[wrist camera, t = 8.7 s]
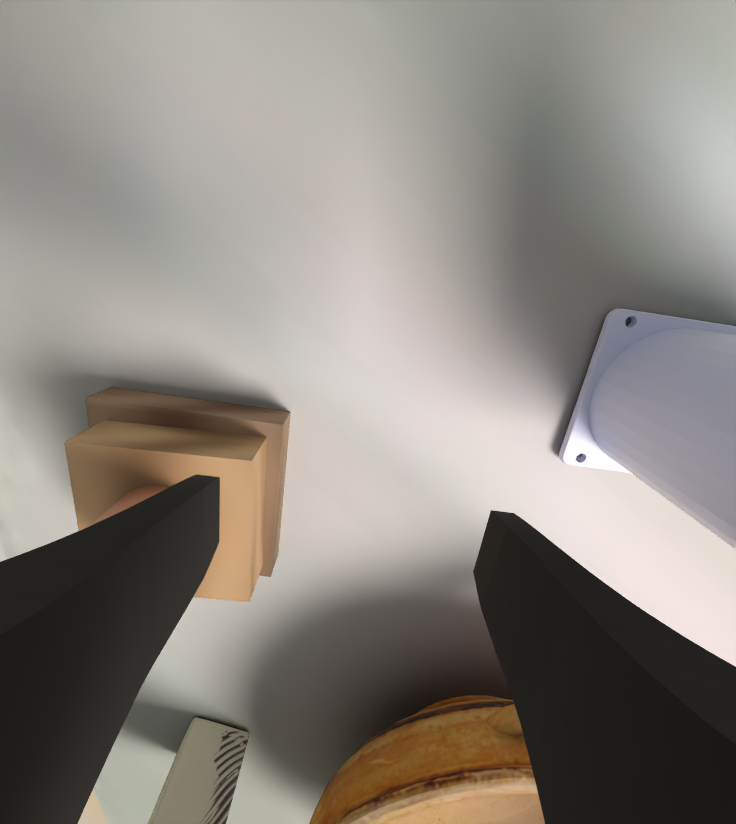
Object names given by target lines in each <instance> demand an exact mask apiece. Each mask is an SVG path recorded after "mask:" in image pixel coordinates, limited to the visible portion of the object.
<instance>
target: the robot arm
mask: <svg viewBox="0 0 736 824" xmlns="http://www.w3.org/2000/svg"><path fill="white" fill-rule="evenodd" d="M628 317H631V323H630V324H629V325H628V326H626V325H625V321H626V319H627V318H628ZM579 454H582V456H581V458H579V459H576V457H577V455H579ZM559 458H560V460H561V461H563V462H564V463H565V464H567V465H572V466H580V467H588V468H595V469H603V470H611V471H618V472H626V473H632V474H633V475H635V476H636V477H637V478H639V479H640V480H641V481H643V482H644V483H645V484H647V485H648V486H650V487H651V488H652V489H654V490H655V491H656V492H658V493H659V494H660V495H662V496H663V497H665V498H666V499H667V500H669V501H670V502H671V503H673V504H674V505H676V506H677V507H678V508H680V509H681V510H682V511H684V512H685V513H686V514H688V515H689V516H691V517H692V518H693V519H695V520H696V521H697V522H699V523H700V524H701V525H703V526H704V527H706V528H707V529H708V530H710V531H711V532H712V533H714V534H715V535H717V536H718V537H719V538H721V539H722V540H723V541H725V542H726V543H727V544H729V545H730V546H732V547H733V548H734V549H736V326H732V325H725V324H719V323H712V322H706V321H699V320H693V319H686V318H680V317H673V316H667V315H660V314H654V313H647V312H641V311H634V310H628V309H620V308H619V309H614V310H612V311H610V312H609V313H608V315H607V316H606V319H605V321H604V324H603V327H602V330H601V333H600V336H599V339H598V342H597V345H596V348H595V350H594V353H593V356H592V359H591V362H590V365H589V368H588V371H587V374H586V377H585V380H584V382H583V385H582V388H581V391H580V394H579V397H578V400H577V403H576V406H575V409H574V412H573V414H572V417H571V420H570V423H569V426H568V429H567V432H566V435H565V438H564V441H563V443H562V446H561V449H560V452H559ZM219 527H220V477H214V476H206V475H198V474H196V475H194V476H191V477H189V478H187V479H185V480H183V481H180V482H178V483H176V484H175V485H173V486H171V487H169V488H167V489H165V490H163V491H161V492H159V493H157V494H155V495H153V496H151V497H149V498H147V499H145V500H143V501H141V502H139V503H137V504H135V505H133V506H131V507H129V508H127V509H125V510H123V511H121V512H119V513H117V514H115V515H113V516H110V517H108V518H106V519H104V520H102V521H100V522H97V523H95V524H93V525H91V526H89V527H87V528H84V529H82V530H80V531H78V532H76V533H73V534H71V535H69V536H66V537H64V538H62V539H59V540H57V541H54V542H52V543H49V544H47V545H44V546H42V547H39V548H36V549H34V550H31V551H29V552H26V553H23V554H21V555H18V556H15V557H13V558H10V559H7V560H4V561H2V562H0V824H77V823H78V821H79V819H80V816H81V814H82V812H83V809H84V807H85V805H86V803H87V801H88V798H89V796H90V794H91V792H92V790H93V788H94V785H95V783H96V781H97V779H98V777H99V775H100V772H101V770H102V768H103V766H104V764H105V762H106V759H107V757H108V755H109V753H110V751H111V748H112V746H113V744H114V742H115V740H116V738H117V736H118V734H119V731H120V729H121V727H122V725H123V723H124V721H125V719H126V717H127V715H128V713H129V711H130V709H131V706H132V704H133V702H134V700H135V698H136V696H137V694H138V692H139V690H140V688H141V686H142V684H143V682H144V680H145V679H146V677H147V675H148V673H149V671H150V669H151V668H152V666H153V664H154V662H155V661H156V659H157V657H158V656H159V654H160V652H161V651H162V649H163V647H164V645H165V644H166V642H167V640H168V639H169V637H170V635H171V634H172V632H173V630H174V629H175V627H176V625H177V623H178V622H179V620H180V618H181V617H182V615H183V613H184V612H185V610H186V608H187V607H188V605H189V603H190V601H191V600H192V598H193V596H194V595H195V593H196V591H197V589H198V588H199V586H200V584H201V582H202V581H203V579H204V577H205V575H206V572H207V570H208V568H209V566H210V563H211V561H212V559H213V556H214V554H215V552H216V549H217V547H218V544H219ZM473 572H474V577H475V582H476V587H477V592H478V597H479V601H480V606H481V610H482V613H483V616H484V619H485V622H486V625H487V628H488V631H489V633H490V636H491V639H492V642H493V645H494V648H495V651H496V654H497V656H498V659H499V662H500V665H501V668H502V671H503V673H504V676H505V679H506V682H507V685H508V688H509V690H510V693H511V696H512V699H513V702H514V705H515V708H516V711H517V715H518V718H519V721H520V724H521V728H522V732H523V735H524V739H525V743H526V747H527V751H528V755H529V759H530V763H531V767H532V771H533V775H534V778H535V783H536V787H537V791H538V795H539V800H540V804H541V808H542V812H543V817H544V821H545V824H736V667H735V666H733V665H731V664H730V663H728V662H726V661H724V660H723V659H721V658H719V657H717V656H716V655H714V654H712V653H710V652H709V651H707V650H705V649H704V648H702V647H700V646H699V645H697V644H695V643H694V642H692V641H690V640H689V639H687V638H685V637H684V636H682V635H680V634H679V633H677V632H676V631H674V630H673V629H671V628H670V627H668V626H666V625H665V624H663V623H662V622H660V621H659V620H657V619H656V618H654V617H652V616H651V615H649V614H648V613H646V612H645V611H643V610H642V609H640V608H639V607H637V606H636V605H634V604H633V603H632V602H630V601H629V600H627V599H626V598H624V597H623V596H622V595H620V594H619V593H618V592H616V591H615V590H613V589H612V588H611V587H609V586H608V585H606V584H605V583H604V582H602V581H601V580H600V579H598V578H597V577H596V576H594V575H593V574H592V573H590V572H589V571H588V570H586V569H585V568H584V567H583V566H581V565H580V564H579V563H577V562H576V561H575V560H574V559H572V558H571V557H570V556H568V555H567V554H566V553H565V552H563V551H562V550H561V549H560V548H558V547H557V546H556V545H555V544H553V543H552V542H551V541H550V540H548V539H547V538H546V537H545V536H543V535H542V534H541V533H540V532H538V531H537V530H536V529H535V528H533V527H532V526H531V525H529V524H528V523H527V522H525V521H524V520H523V519H521V518H520V517H518V516H517V515H515V514H514V513H508V512H500V511H491V512H490V516H489V519H488V523H487V526H486V530H485V533H484V537H483V540H482V544H481V547H480V551H479V554H478V557H477V561H476V564H475V568H474V571H473Z"/></svg>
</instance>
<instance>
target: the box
mask: <svg viewBox="0 0 736 824" xmlns="http://www.w3.org/2000/svg"><path fill="white" fill-rule="evenodd" d="M248 738H249V733H248V732H245V731H242V730H238V729H235V728H232V727H229V726H225V725H222V724H219V723H215V722H212V721H209V720H206V719H201V718H197V717H195V718H194V719H193V720H192V722H191V724H190V726H189V728H188V730H187V732H186V734H185V736H184V738H183V740H182V743H181V745H180V747H179V749H178V752H177V754H176V756H175V759H174V762H173V764H172V767H171V769H170V771H169V774H168V776H167V778H166V781H165V783H164V786H163V788H162V790H161V793H160V795H159V798H158V800H157V803H156V805H155V808H154V810H153V813H152V815H151V817H150V820H149V822H148V824H226V821H227V818H228V814H229V810H230V806H231V802H232V799H233V794H234V791H235V788H236V784H237V779H238V776H239V772H240V768H241V765H242V761H243V757H244V753H245V749H246V746H247V742H248Z"/></svg>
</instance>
